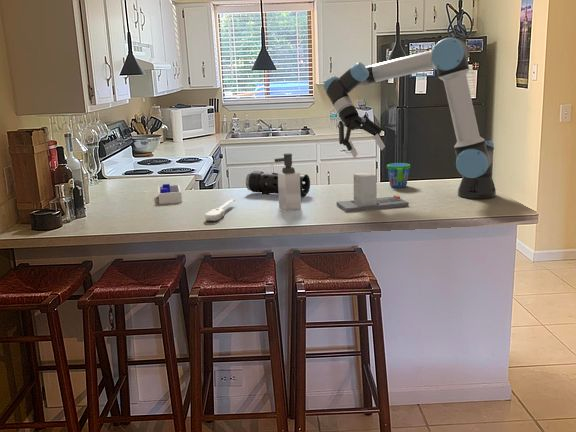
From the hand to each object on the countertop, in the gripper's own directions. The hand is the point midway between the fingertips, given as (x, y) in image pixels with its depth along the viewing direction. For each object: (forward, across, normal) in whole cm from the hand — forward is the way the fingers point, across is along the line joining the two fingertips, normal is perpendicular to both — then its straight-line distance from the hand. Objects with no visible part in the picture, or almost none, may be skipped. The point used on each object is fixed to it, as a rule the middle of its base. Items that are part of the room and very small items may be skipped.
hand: (369, 152), depth 233 cm
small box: (+19, +10, -7) cm, 23 cm away
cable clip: (-27, +70, -52) cm, 92 cm away
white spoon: (-1, +61, -22) cm, 65 cm away
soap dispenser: (+7, +36, -17) cm, 41 cm away
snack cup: (+8, -25, -28) cm, 38 cm away
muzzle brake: (-8, +27, -38) cm, 48 cm away
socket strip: (+20, +7, -7) cm, 22 cm away
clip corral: (-28, +69, -52) cm, 91 cm away
